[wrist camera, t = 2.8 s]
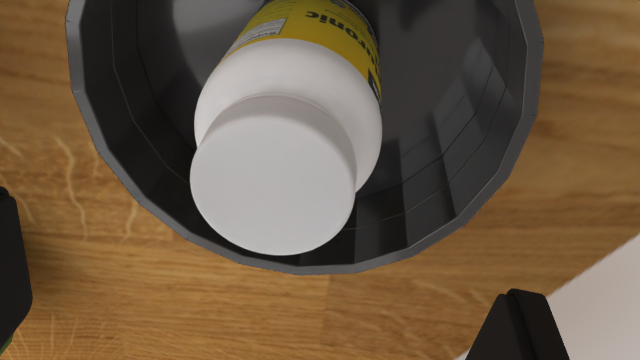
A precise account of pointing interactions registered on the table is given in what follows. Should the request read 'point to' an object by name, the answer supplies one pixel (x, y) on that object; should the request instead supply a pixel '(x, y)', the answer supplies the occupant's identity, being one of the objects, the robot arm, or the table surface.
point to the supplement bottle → (289, 127)
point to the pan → (397, 108)
